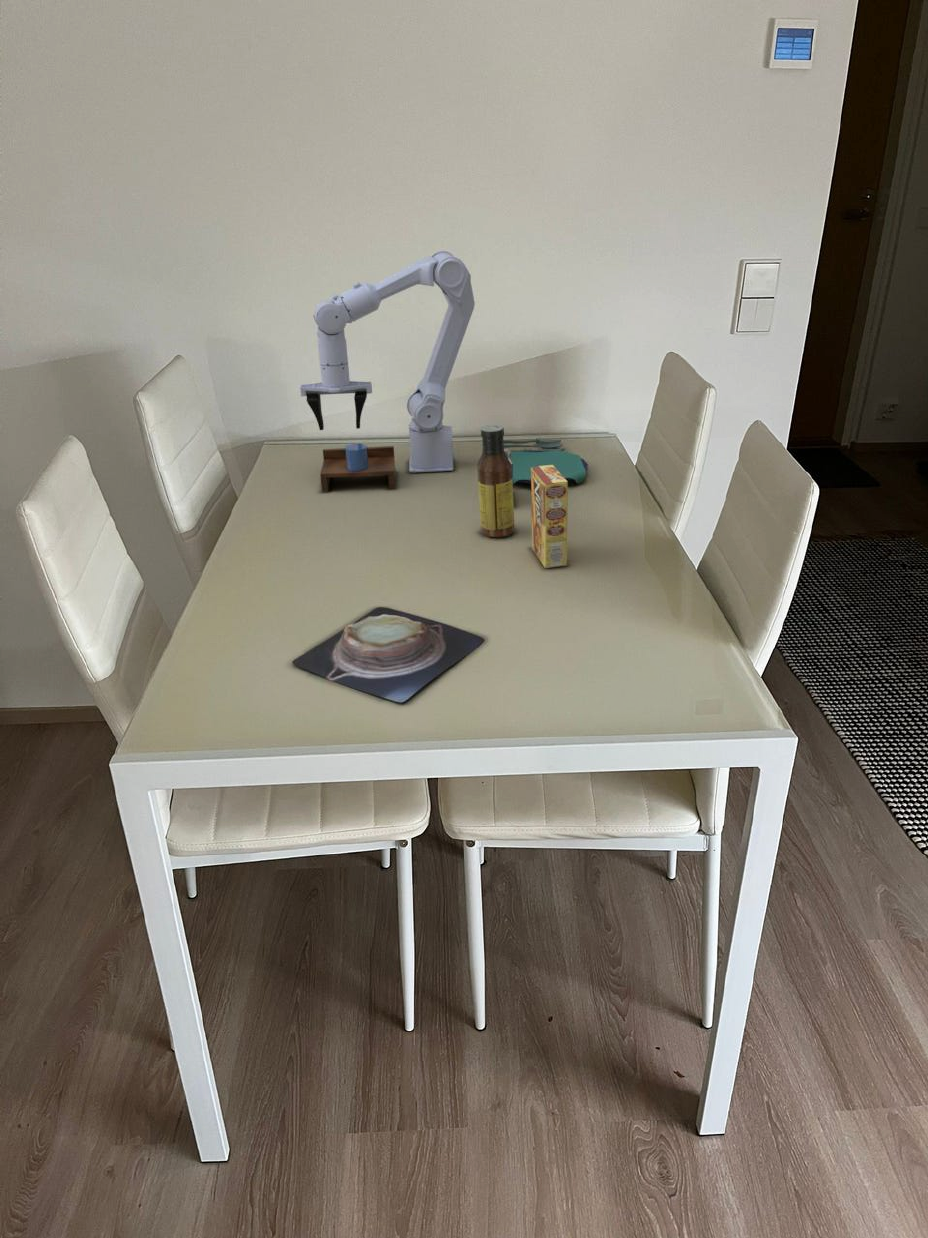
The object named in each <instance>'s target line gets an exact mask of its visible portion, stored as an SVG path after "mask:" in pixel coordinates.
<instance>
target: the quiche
mask: <svg viewBox="0 0 928 1238" xmlns="http://www.w3.org/2000/svg"><path fill="white" fill-rule="evenodd" d="M484 641H485V638H484V637H483V636H479V635H478V634H474V633H472V632H469V631H466V630H465V629H461V628H458V627H456V626H453V625H450V624H447V623H444V622H440V621H437V620H433V619H430V618H426V617H423V616H420V615H417V614H412V613H409V612H405V611H401V610H397V609H395V608H394V609H393V608H390V607H385V606H377V607H376V608H374V609H372V610H371V611H369V612H368V613H366V614H364V615H363V616H362V617H359V619H358V620H356V621H354V622H353V623H350V624H349V623H348V625H346V626H345V628H344V629H342V630H340V631H338V632H337V633H335V634H333V635H332V636H330V637H328V639H325V640H324V641H322V642H321V643H319V644H318V645H316V646H314V647H312V648H311V649H309V650H307V651H306V652H304V653H303V654H301V655H299V656H298V657H296V658H294V659H293V660H292V662H291V663H292V664H293V665H294V666H296V667H298V668H300V669H304V670H306V671H309V672H311V673H314V674H315V675H318V676H320V677H321V678H325V679H326V680H329V681H332V682H334V683H336V684H339V685H343V686H346V687H348V688H351V689H354V690H358V691H361V692H364V693H367V694H370V695H374V696H376V697H380V698H383V699H387V700H390V701H393V702H397V703H404V702H406V701H408V699H410V698H411V697H412V696H414V694H416V693H417V692H418V691H420V690H421V689H422V688H423V687H425V686H426V685H427V684H428V683H430V682H431V681H432V680H434V679H435V678H437V677H438V676H439V675H441V674H442V673H444V672H445V671H446V670H447V669H449V668H451V667H452V666H453V665H455V664H456V663H458V662H459V661H460V660H462V659H464V658H465V657H466V656H467V655H469V654H470V653H471V652H473V651H475V649H477V648H478V647H479V646H480V645H481V644H483V643H484Z"/></svg>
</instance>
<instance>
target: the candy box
mask: <svg viewBox="0 0 928 1238" xmlns="http://www.w3.org/2000/svg"><path fill="white" fill-rule="evenodd" d="M530 491H531V492H530V493H531V496H530V497H531V499H530V500H531V503H530V504H531V549H532V550H533V552H534V554H535V555H536V557H537V559H538V560H539V561H540V563H541V564H542V566H543V567H544V568H545V569H551V568H557V567H565V566H567V565H568V509H569V508H568V506H569V505H568V504H569V503H568V500H569V495H568V493H569V492H568V491H569V481H567V480H566V479H565V478H564V477H563V476H562V474H561V473H560V472H559V471H558V470H557V469H556V468H555V467H554V466H553V465H545V466H536V467H531V484H530Z"/></svg>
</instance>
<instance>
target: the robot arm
mask: <svg viewBox="0 0 928 1238" xmlns="http://www.w3.org/2000/svg"><path fill="white" fill-rule="evenodd" d="M416 285H421V286H427V287H435V285H436V286H437V287H438V288H439V289H440V290H441V293H442V294H443V296H444V299H445V301H446V303H447V309H446V311H445V314H444V316H443V319H442V323H441V325H440V328H439V332H438V335H437V338H436V340H435V343H434V346H433V349H432V352H431V355H430V358H429V360H428V363H427V366H426V369H425V372H424V375H423V377H422V379H421V380H419V382H418V384H417V386H416V389H415V391H414V392H413V393H412V394H411V395H410V396H409V398H407V402H406V409H407V412H408V414H409V415H410V416H411V417H412V418H411V420H410V422H409V424H408V435H409V436H408V438H409V451H410V458H409V459H408V462H409V463H408V466H409V467H408V470H409V471H408V472H409V473H411V474H412V473H413V474H414V473H431V472H432V473H433V472H453V471H454V460H455V451H454V448H453V429H452V426H451V425H444V424H443V420H444V410H443V409H444V404H445V403H446V402H445V401H446V387H447V384H448V382H449V379H450V376H451V373H452V371H453V369H454V365H455V362H456V360H457V357H458V354H459V352H460V349H461V345H462V343H463V340H464V337H465V335H466V332H467V329H468V326H469V324H470V320H471V318H472V315H473V312H474V310H475V304H476V303H475V297H474V293H473V287H472V275H471V273H470V271H469V269H468V268H467V266H466V264H465V263H464V262H463V261H462V260H461V259H460V258H459V257H456V256H454V255H453V254H452V253H451V252H448V251H446V250H440V251H437V252H435V253H433V254H432V255H427V256H424V257H422V258H419V259H418V260H417V261H414V262H412V263H411V264H409V265H407V266H405V267H404V268H402V269H400V270H398V271H397V272H394V273H393V274H391V275H390V276H387V277H385V278H384V279H381V281H378V282H376V283H375V284H371V283H370V282H369V283H368V282H366V281H365V282H362V283H360V282H359V281H357V282H355V283H353V284H352V287H353V288H351V289H348V290H346V291H344V292H342V293H340V294H338V295H337V294H336V293H335V294H333V295H332V296H331V299H332V300H329V299H326V300H322V301H320V302H319V303H318V304H317V305H316V307H315V309H314V313H313V315H312V316H313V319H314V322H315V323H316V325H317V331H316V334H317V348H318V359H319V368H320V378H321V382H314V383H307V384H301V385H300V388H299V389H300V396H301V397H306V400H305V401H306V403H307V405H308V406H309V408H310V409H311V410H312V413H313V415H314V417H315V419H316V422H317V426H318V428H319V431H324V427H325V424H324V418H323V413H322V412H323V411H322V401H321V400H322V399H321V396H322V395H344V394H354V397H353V398H354V407H355V408H354V409H355V427H356V430H357V429H358V430H359V429H361V418H362V413H363V409H364V406H365V403H366V401H367V397H368V394H373V385H372V381H355V380H350V379H351V378H350V371H349V370H350V369H349V357H348V356H349V355H348V346H347V339H346V336H345V328H346V326H347V324H352V323H354V322H356V321H358V320H360V319H362V318H364V317H366V316H368V315H370V314H372V313H374V312H376V311H378V310H379V308H380V304H381V302H382V301H384V300H385V299H388V298H390V297H392V296H394V295H396V294H399V293H401V292H403V291H405V290H408V289H410V288H412V287H414V286H416Z"/></svg>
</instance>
